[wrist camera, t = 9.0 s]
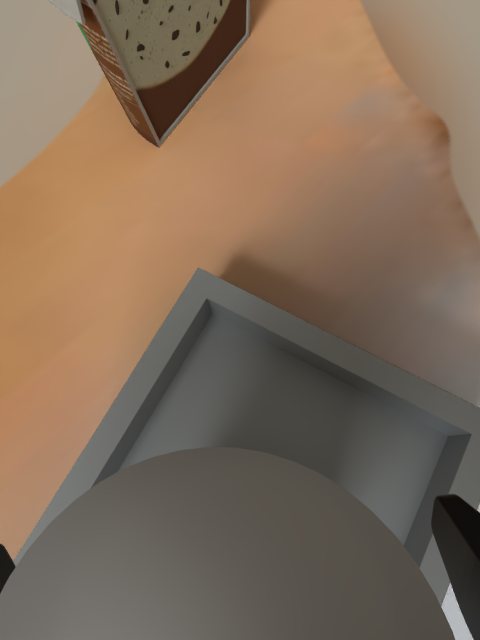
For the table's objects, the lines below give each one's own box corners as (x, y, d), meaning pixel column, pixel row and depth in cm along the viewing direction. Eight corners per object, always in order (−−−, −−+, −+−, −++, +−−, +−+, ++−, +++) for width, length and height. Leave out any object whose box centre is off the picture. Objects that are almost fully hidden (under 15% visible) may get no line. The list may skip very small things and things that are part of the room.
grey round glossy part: (248, 660, 15) (222, 1339, 3) (138, 535, 16) (-145, 725, 5) (351, 527, 16) (585, 707, 5) (239, 422, 17) (207, 359, 6)
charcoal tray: (299, 859, 14) (308, 963, 11) (2, 629, 16) (-53, 666, 14) (469, 427, 18) (509, 422, 15) (207, 293, 20) (198, 267, 17)
